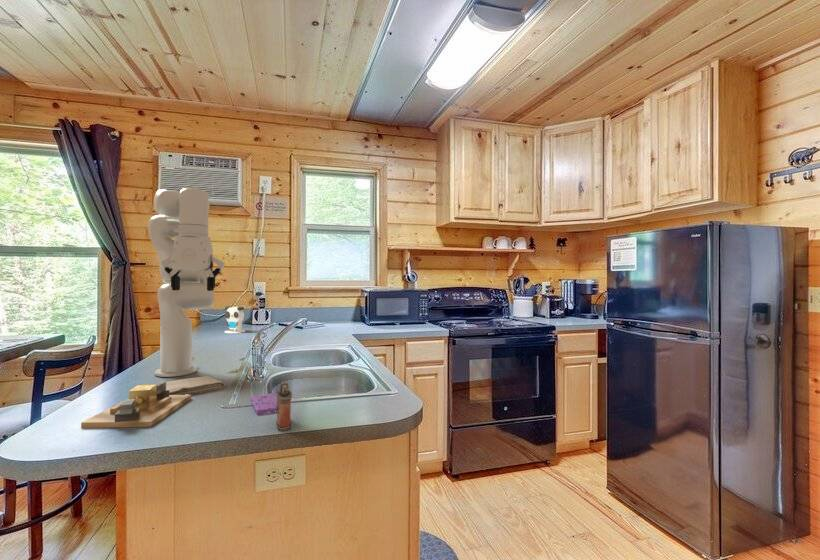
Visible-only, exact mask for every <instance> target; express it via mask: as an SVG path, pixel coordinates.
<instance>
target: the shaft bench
mask: <svg viewBox="0 0 820 560" xmlns="http://www.w3.org/2000/svg"><path fill="white" fill-rule="evenodd" d="M166 382H167V381H156V382H155V383H153V384H151V385H154V384H157V403H156V404H154V405H153V406H151V407H149V408H148V410H140V408H138V409H135V399H130V400H129V397H128V398H127V399H124V400H122V401H121V402H119V403H117V404H114V405H113V406H111V407H108V408H107V409H106V410H103V411H101V412H100V413H98V414H96V415H94V416H90V418H87V419H86V420H83V421H82V422H81V423H80V428H81V429H87V428H88V429H90V428H93V429H95V428H101V429H102V428H146V427H148V428H149V427H151V428H152V427H153V426H155V424H158V422H160V421H161V420H163V419H164V418H166V417H168V415H170V414H172V413H174V412H175V411H176V410H177V409H179V408H180V407H181V406H183V405H184V403H185V404H186V403H187V402H189V401H190V400H191V399H192V394H190V395H169V390H166Z"/></svg>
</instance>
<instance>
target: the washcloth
mask: <svg viewBox="0 0 820 560" xmlns="http://www.w3.org/2000/svg"><path fill="white" fill-rule="evenodd" d="M165 382H166V390H169V395H185V394H190V395H193V394H192V393H196V394H201V393H206V392H211V390H212V391H216V390H221V389H223V388H224V387H225V386H226V384H225V382H223V381H222V380H219V379H216V378H214V377H213V376H210V375H204V376H203V375H202V376H198V377H189V378H188V377H187V378H181V379H176V380H169V381H165Z"/></svg>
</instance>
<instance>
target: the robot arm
mask: <svg viewBox="0 0 820 560" xmlns="http://www.w3.org/2000/svg"><path fill="white" fill-rule="evenodd" d="M209 198H210V197H209V194H208V192H207V191H206V190H203V189H199V188H191V187H190V188H189V187H187V188H182V189H181V190H180V191H179V190H173V189H172V190H170V189H158V190H157V191H156V192H155V194H154V197H153V208H154V211H155V214H157V215H154V216H152V217H151V218H150V219H149V221H148V234H149V237H150V241H151V243H152V246H153V247H154V249H155V251H156V253H157V256H158V258H157V259H158V266H159V275H160V279H161V281H162V282H163V283H164V284H162V285H161V286H160V287H159V288H158V289H157V301H158V307H159V315H160V316H159V317H160V319H159V322H160V326H159V327H160V328H159V329H160V337H159V338H160V346H159V347H160V348H159V351H160V353H159V356H160V357H159V365H160V366H159V368H158V369H156V370H155V371H154V375H155V376H156V377H160V378H173V377H181V376H182V377H183V376H186V375H187V376H188V375H191V374H195V372H197V366H195V365H192V363H193V362H194V361H195V357H194V356H193V355H192V352H193V349H192V348H193V345H192V344H193V341H192V340H193V323H192V320H191V319H190V317H189V316H188V315H187V314H186V313H185V312H184V311H189V310H192V311H193V310H204V309H205V310H206V309H210V308H212V307H213V305H214V303H215V291H214V290H215V288H216V277H218V275H219V274H220V273H221V272H222V271H223V269H224V267H225V265H226V262H224V261H223V260H220V259H218V258H217V257H215V256H214V250H213V249H214V248H213V244H212V239H211V237H210V236H209V213H210V209H211V206H210V201H209ZM214 264H216V265H217V266H216V268H215V269H213V268H214Z"/></svg>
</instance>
